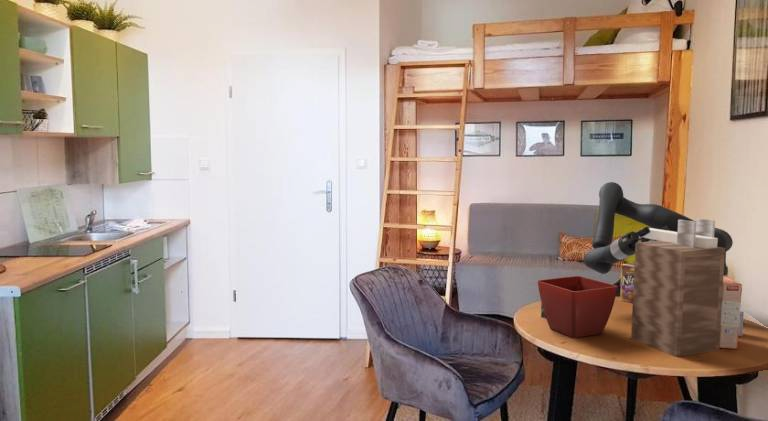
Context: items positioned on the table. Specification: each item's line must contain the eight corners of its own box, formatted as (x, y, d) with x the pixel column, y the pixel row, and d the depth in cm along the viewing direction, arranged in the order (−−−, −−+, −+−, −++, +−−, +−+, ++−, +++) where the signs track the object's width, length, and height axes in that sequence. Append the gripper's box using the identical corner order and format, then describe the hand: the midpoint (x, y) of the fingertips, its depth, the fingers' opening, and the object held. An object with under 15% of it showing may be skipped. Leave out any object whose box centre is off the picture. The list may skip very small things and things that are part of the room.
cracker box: (739, 349, 180) (743, 283, 178) (718, 348, 181) (722, 282, 179) (721, 336, 194) (724, 274, 192) (701, 335, 195) (705, 273, 193)
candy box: (619, 300, 241) (620, 264, 239) (625, 299, 243) (626, 263, 242) (639, 305, 233) (641, 267, 232) (645, 303, 236) (647, 266, 234)
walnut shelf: (631, 338, 191) (636, 218, 187) (671, 333, 197) (677, 216, 193) (676, 356, 174) (683, 224, 170) (718, 349, 180) (726, 222, 176)
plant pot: (534, 326, 204) (536, 279, 202) (577, 320, 212) (579, 275, 210) (572, 342, 187) (574, 291, 185) (617, 335, 194) (619, 286, 192)
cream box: (640, 237, 200) (641, 228, 200) (650, 236, 202) (651, 228, 201) (706, 248, 176) (707, 238, 176) (717, 247, 177) (717, 238, 177)
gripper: (607, 237, 208) (638, 219, 194) (638, 235, 213) (670, 217, 199) (613, 257, 205) (645, 240, 192) (645, 254, 211) (678, 237, 197)
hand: (658, 228), depth 196 cm, fingers open, 8 cm apart
